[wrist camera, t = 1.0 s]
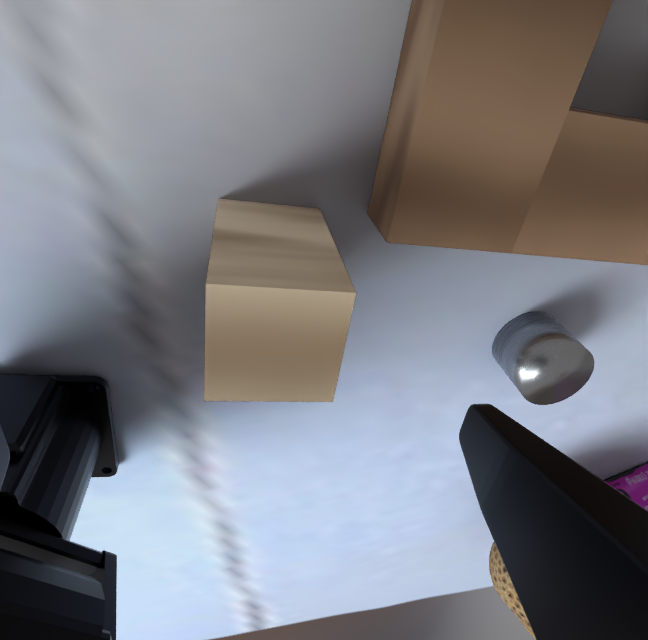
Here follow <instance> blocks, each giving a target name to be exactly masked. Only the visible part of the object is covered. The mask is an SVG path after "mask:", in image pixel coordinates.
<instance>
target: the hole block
mask: <svg viewBox="0 0 648 640" xmlns="http://www.w3.org/2000/svg"><path fill="white" fill-rule="evenodd" d="M612 1H613V0H412V2H411V7H410V11H409V16H408V21H407V26H406V31H405V35H404V40H403V45H402V50H401V55H400V60H399V64H398V69H397V74H396V79H395V84H394V88H393V93H392V98H391V103H390V108H389V112H388V117H387V122H386V127H385V132H384V136H383V141H382V146H381V151H380V156H379V161H378V165H377V170H376V175H375V180H374V185H373V189H372V194H371V199H370V204H369V209H368V213H367V214H368V215H369V217H370V218H371V220H372V221H373V223H374V224H375V226H376V227H377V229H378V230H379V232H380V233H381V235H382V236H383V237H384V239H385V240H386V242H387V243H399V244H410V245H422V246H433V247H445V248H456V249H468V250H479V251H491V252H502V253H514V254H525V255H537V256H548V257H560V258H571V259H583V260H594V261H606V262H617V263H629V264H640V265H648V120H643V119H637V118H631V117H625V116H619V115H613V114H607V113H601V112H595V111H589V110H583V109H578V108H572V107H570V106H571V103H572V101H573V98H574V96H575V93H576V91H577V88H578V86H579V83H580V81H581V78H582V76H583V73H584V71H585V69H586V66H587V64H588V61H589V59H590V56H591V54H592V51H593V49H594V46H595V44H596V41H597V39H598V36H599V34H600V31H601V29H602V26H603V24H604V21H605V19H606V16H607V14H608V11H609V9H610V6H611V4H612Z"/></svg>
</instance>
